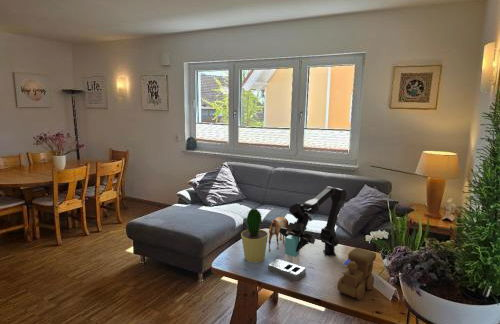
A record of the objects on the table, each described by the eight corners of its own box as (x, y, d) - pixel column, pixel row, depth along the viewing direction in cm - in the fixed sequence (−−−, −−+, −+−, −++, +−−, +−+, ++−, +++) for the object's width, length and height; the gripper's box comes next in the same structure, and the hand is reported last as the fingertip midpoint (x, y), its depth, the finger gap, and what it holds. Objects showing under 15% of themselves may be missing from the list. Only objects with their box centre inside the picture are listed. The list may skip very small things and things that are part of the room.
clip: (289, 258, 166) (289, 234, 164) (299, 261, 162) (299, 237, 160) (285, 261, 163) (285, 237, 161) (295, 264, 159) (295, 240, 157)
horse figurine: (274, 256, 183) (274, 222, 180) (262, 253, 187) (262, 220, 183) (293, 237, 210) (293, 207, 207) (282, 235, 214) (282, 206, 211)
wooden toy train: (354, 277, 160) (355, 246, 157) (376, 285, 152) (378, 253, 149) (334, 294, 145) (335, 260, 142) (358, 304, 138) (360, 268, 135)
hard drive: (350, 255, 181) (342, 263, 171) (365, 259, 176) (357, 268, 167) (350, 257, 181) (342, 266, 172) (365, 261, 177) (357, 270, 167)
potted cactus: (257, 267, 171) (257, 214, 166) (236, 259, 180) (234, 209, 175) (273, 256, 183) (273, 207, 178) (252, 249, 192) (251, 202, 187)
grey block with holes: (277, 263, 175) (277, 258, 174) (305, 273, 164) (305, 267, 164) (268, 270, 168) (268, 264, 167) (297, 280, 157) (297, 275, 157)
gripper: (281, 212, 168) (269, 239, 161) (312, 219, 156) (301, 248, 150) (288, 222, 175) (277, 248, 168) (319, 229, 164) (309, 257, 157)
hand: (290, 250), depth 161 cm, fingers closed on clip, 6 cm apart
